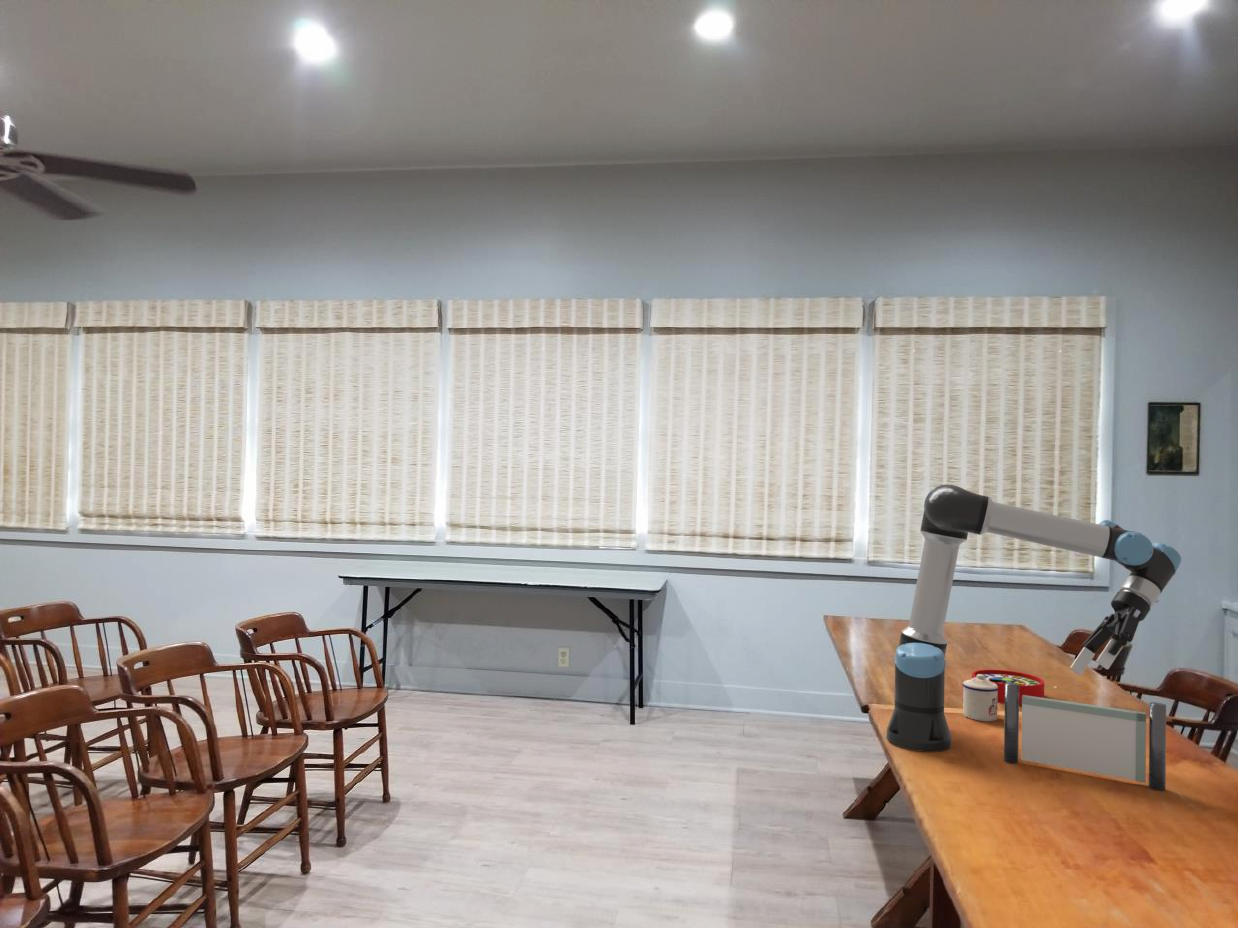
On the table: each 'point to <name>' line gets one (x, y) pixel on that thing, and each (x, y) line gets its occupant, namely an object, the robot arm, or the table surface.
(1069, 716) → the grey rectangular panel
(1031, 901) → the table surface
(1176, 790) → the table surface
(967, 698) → the teacup with lid
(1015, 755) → the posts
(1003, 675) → the toy clock
